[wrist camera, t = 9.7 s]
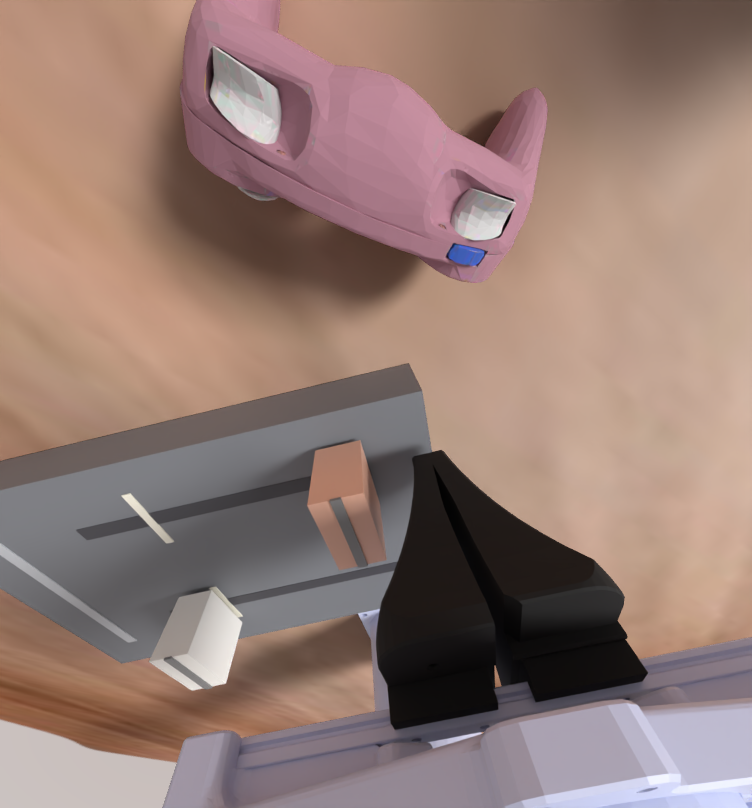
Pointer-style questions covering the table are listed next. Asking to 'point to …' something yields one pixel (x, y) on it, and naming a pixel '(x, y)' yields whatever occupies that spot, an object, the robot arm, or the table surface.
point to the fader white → (198, 641)
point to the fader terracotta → (347, 506)
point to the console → (207, 514)
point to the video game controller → (353, 143)
